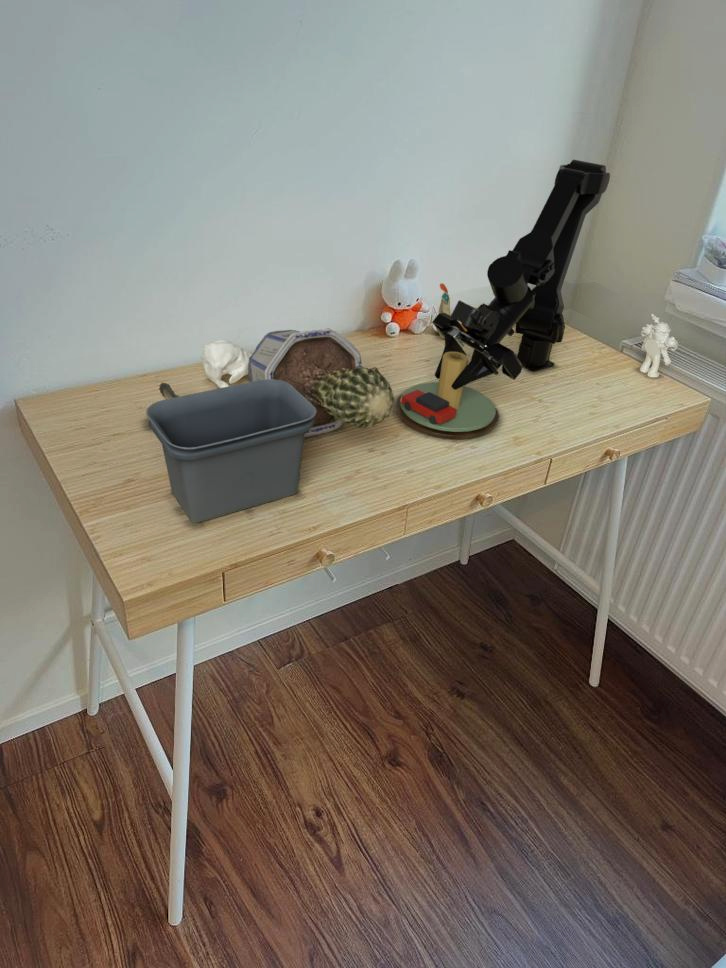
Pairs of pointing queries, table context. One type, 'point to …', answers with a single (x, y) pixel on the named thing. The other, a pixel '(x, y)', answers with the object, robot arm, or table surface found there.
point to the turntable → (448, 401)
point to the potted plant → (324, 377)
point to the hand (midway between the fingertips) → (444, 382)
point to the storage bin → (232, 445)
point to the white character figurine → (656, 346)
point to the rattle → (445, 305)
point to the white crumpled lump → (224, 361)
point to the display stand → (444, 434)
